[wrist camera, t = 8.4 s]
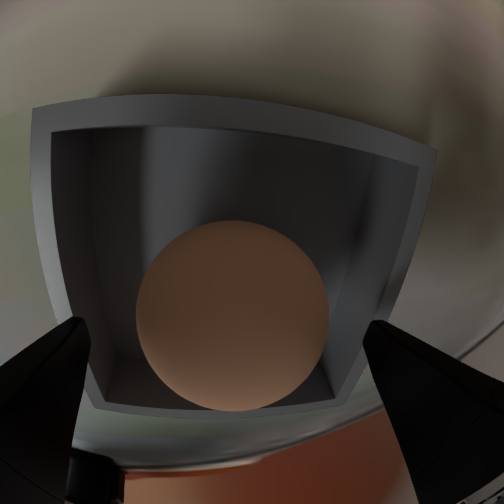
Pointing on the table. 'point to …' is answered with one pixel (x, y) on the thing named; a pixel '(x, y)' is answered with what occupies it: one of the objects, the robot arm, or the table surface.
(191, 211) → the grey open square tray
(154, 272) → the ball
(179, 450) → the table surface
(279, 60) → the table surface
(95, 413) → the table surface
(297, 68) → the table surface
